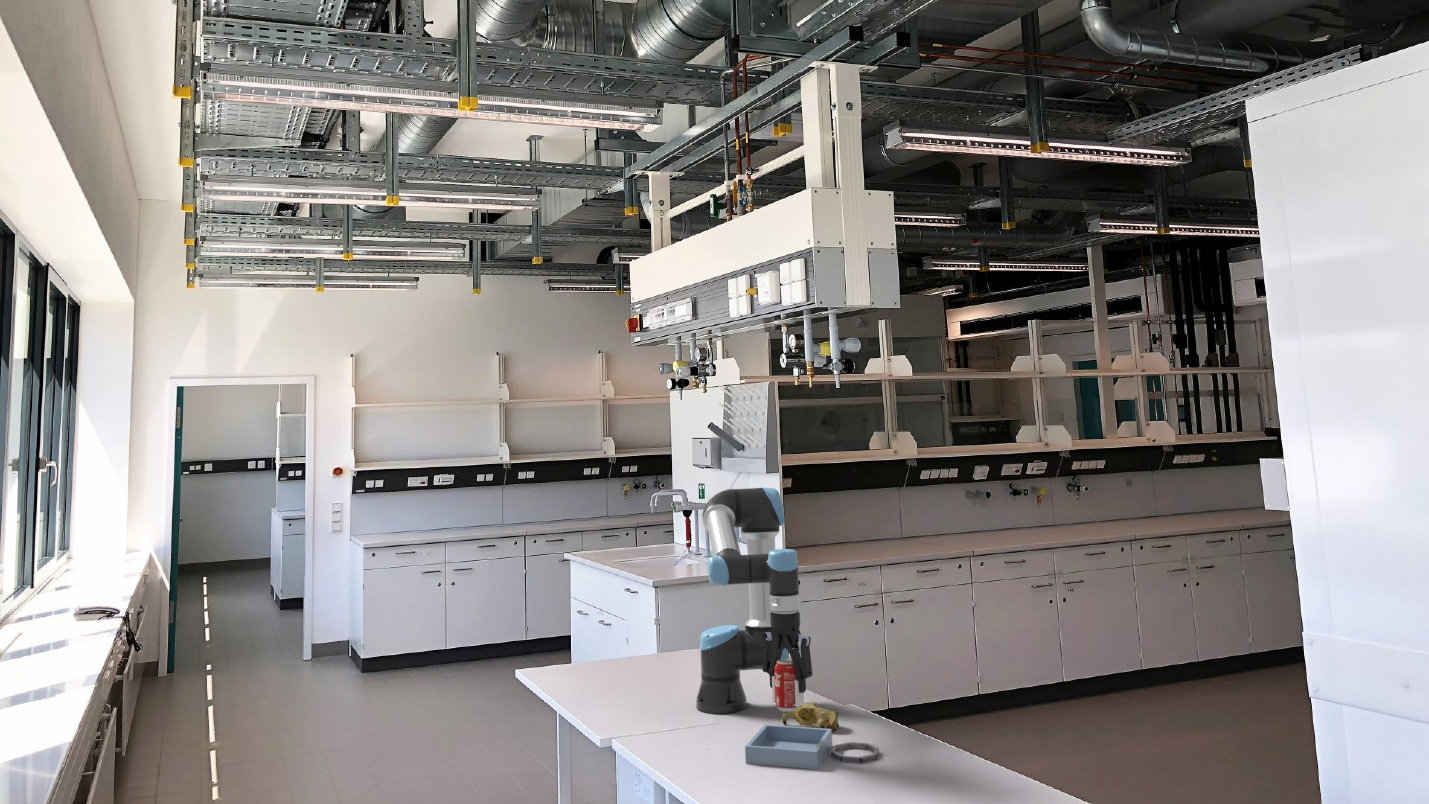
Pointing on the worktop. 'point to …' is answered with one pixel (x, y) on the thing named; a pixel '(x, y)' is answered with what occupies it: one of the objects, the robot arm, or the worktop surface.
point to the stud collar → (851, 758)
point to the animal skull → (813, 717)
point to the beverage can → (785, 685)
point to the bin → (789, 746)
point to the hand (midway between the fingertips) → (788, 703)
